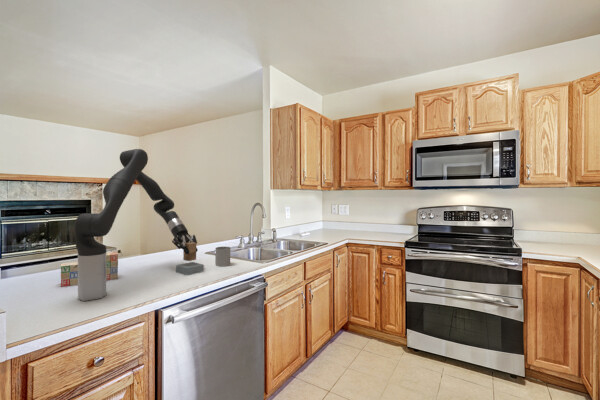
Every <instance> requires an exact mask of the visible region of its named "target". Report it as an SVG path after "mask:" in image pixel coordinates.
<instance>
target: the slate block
mask: <svg viewBox="0 0 600 400" xmlns="http://www.w3.org/2000/svg"><path fill="white" fill-rule="evenodd" d="M204 267H205V265H204V264H202V263H199V262H195V261H188V262H185V263H181V264H176V265H175V273H178V274H180V275H185V276H191V275H195V274H199V273H202V272H204V271H205V268H204Z"/></svg>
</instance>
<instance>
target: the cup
mask: <svg viewBox="0 0 600 400" xmlns="http://www.w3.org/2000/svg"><path fill="white" fill-rule="evenodd" d="M214 255H215V258H214V260H215V265H214V266H215V267H224V268H225V267H228V266H231V247H230V246H217V247H215V254H214Z"/></svg>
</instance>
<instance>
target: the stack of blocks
mask: <svg viewBox="0 0 600 400" xmlns="http://www.w3.org/2000/svg"><path fill="white" fill-rule="evenodd" d="M118 257H119V254H118V252H117V251H115V252H108V251H107V252H106V281H111V280H113V281H114V280H118V275H119V274H118V273H119V258H118ZM69 286H78V261H73V262H64V263H61V264H60V287H61V288H62V287H69Z"/></svg>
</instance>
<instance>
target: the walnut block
mask: <svg viewBox="0 0 600 400" xmlns="http://www.w3.org/2000/svg"><path fill="white" fill-rule="evenodd" d="M185 245H186V247H187V248H188V250H189V251H190V253H189V254H186V253H185V252H184V250H183V249H182V251H183V261H187V262H193V261H195V260H197V252H196V247H197V244H196V243H194V242H190V241H189V242H187V243H185Z"/></svg>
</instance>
